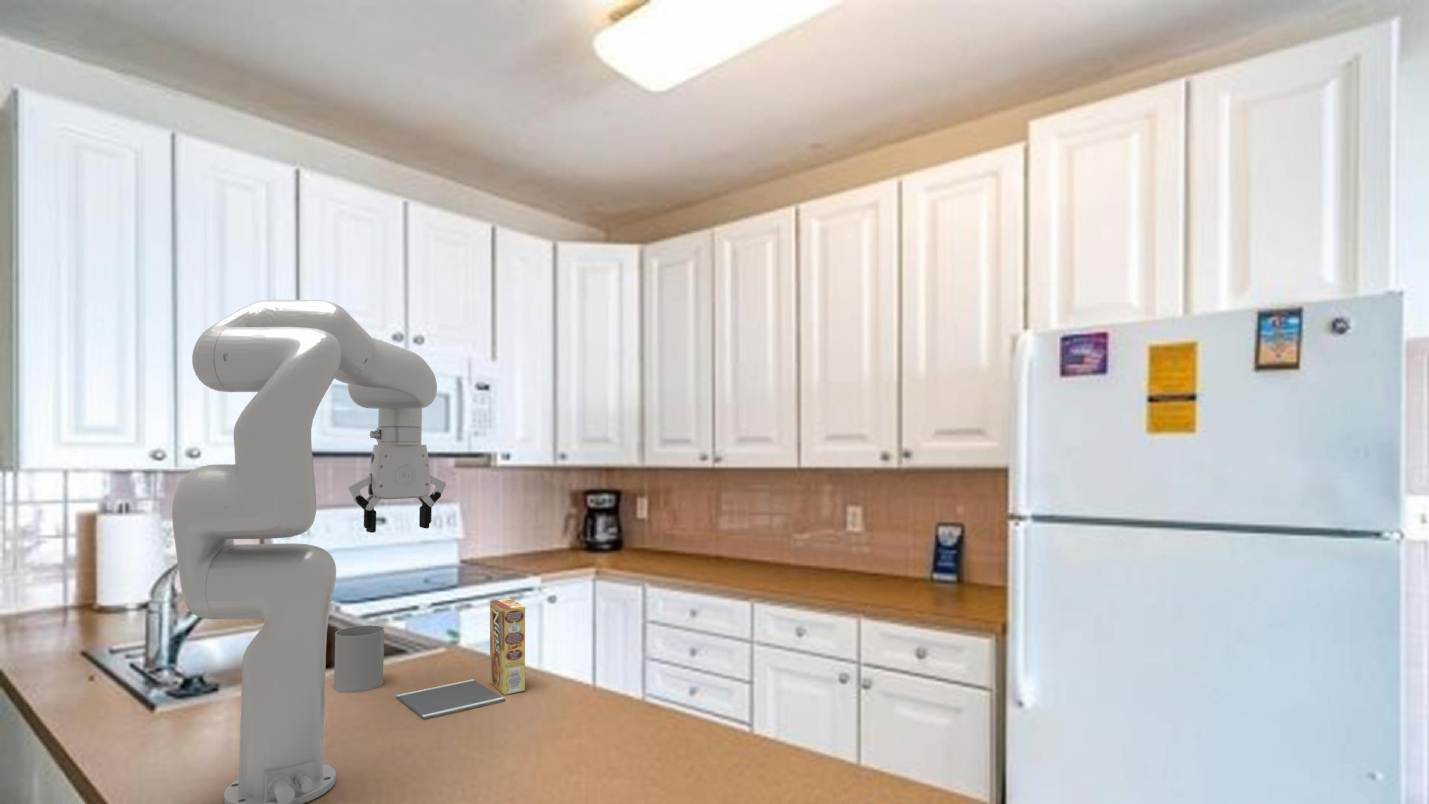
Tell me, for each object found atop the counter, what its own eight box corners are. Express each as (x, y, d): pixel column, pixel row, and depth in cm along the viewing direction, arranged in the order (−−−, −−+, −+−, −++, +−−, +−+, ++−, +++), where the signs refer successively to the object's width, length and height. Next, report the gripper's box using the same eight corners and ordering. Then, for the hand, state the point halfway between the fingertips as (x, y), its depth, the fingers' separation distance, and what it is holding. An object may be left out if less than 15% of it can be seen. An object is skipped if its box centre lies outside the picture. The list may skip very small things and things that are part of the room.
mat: (504, 701, 133) (505, 698, 133) (423, 719, 124) (423, 716, 124) (473, 681, 144) (473, 679, 144) (396, 697, 135) (396, 695, 135)
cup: (334, 681, 144) (336, 628, 144) (382, 676, 147) (383, 623, 148) (333, 695, 136) (334, 638, 137) (383, 688, 140) (384, 633, 140)
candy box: (526, 691, 138) (527, 605, 139) (502, 696, 136) (504, 608, 136) (510, 679, 145) (511, 597, 146) (487, 683, 143) (489, 600, 144)
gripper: (357, 437, 133) (355, 535, 132) (453, 437, 145) (452, 527, 144) (344, 437, 139) (341, 531, 138) (437, 437, 150) (436, 524, 149)
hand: (398, 529), depth 141 cm, fingers open, 9 cm apart
